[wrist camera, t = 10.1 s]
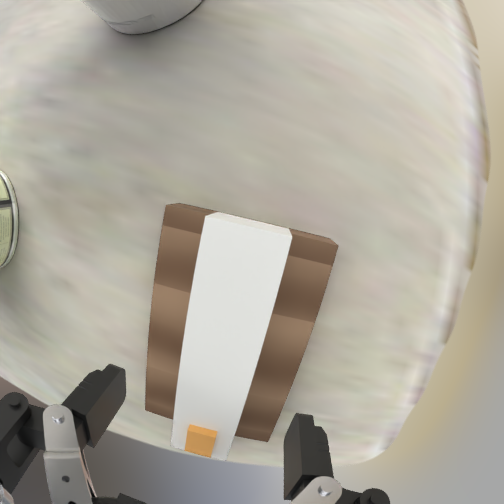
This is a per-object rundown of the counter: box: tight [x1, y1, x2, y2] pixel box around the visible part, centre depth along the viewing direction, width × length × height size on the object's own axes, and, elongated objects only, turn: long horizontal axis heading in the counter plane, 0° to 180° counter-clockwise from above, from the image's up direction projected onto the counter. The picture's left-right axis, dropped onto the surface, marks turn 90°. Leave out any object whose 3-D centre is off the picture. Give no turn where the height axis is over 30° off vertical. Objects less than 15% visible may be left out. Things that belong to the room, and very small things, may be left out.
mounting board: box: [145, 203, 338, 442], centre depth 19 cm, size 16×10×2 cm, turn 167°
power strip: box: [171, 212, 292, 461], centre depth 17 cm, size 16×4×6 cm, turn 167°
